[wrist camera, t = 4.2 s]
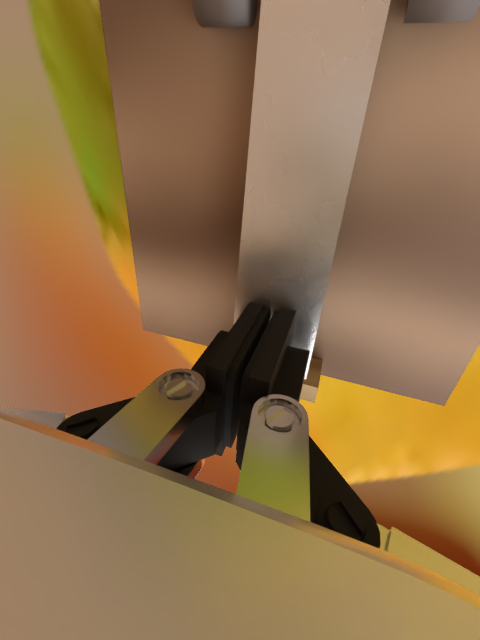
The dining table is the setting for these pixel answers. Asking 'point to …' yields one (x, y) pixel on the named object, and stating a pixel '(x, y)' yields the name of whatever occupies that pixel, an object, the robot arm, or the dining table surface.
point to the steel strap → (303, 149)
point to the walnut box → (362, 199)
